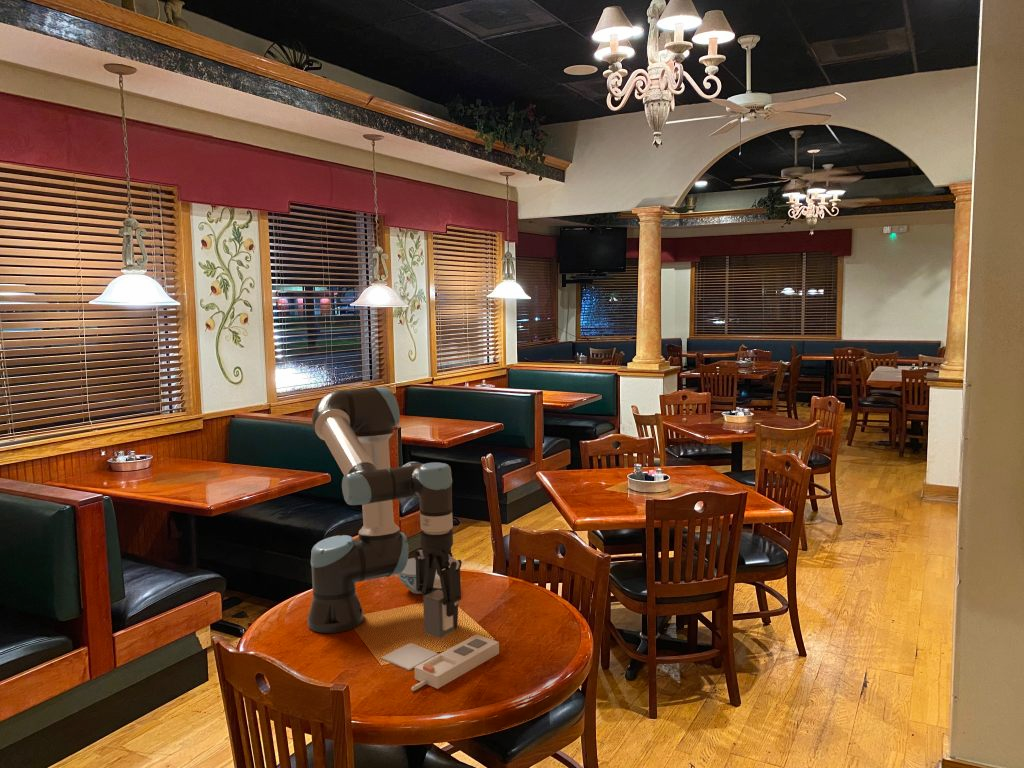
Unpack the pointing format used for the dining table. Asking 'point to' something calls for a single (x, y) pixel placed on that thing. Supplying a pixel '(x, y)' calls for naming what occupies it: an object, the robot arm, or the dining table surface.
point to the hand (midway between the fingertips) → (439, 624)
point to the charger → (434, 614)
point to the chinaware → (409, 576)
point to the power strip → (455, 661)
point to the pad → (409, 656)
